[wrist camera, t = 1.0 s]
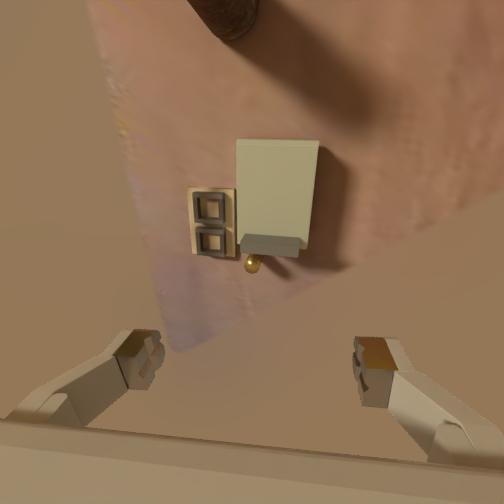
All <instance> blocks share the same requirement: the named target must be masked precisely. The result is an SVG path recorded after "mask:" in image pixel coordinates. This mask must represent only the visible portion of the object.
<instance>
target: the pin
mask: <svg viewBox="0 0 504 504" xmlns="http://www.w3.org/2000/svg"><path fill="white" fill-rule="evenodd" d="M262 258H263V255H260V254H249V256H248V258H247V260H246V262H245V265H244V267H245V270H246V271H247V272H248V273H252V274H253V273H256V272H258V270H259V267H260V264H261V261H262Z"/></svg>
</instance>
